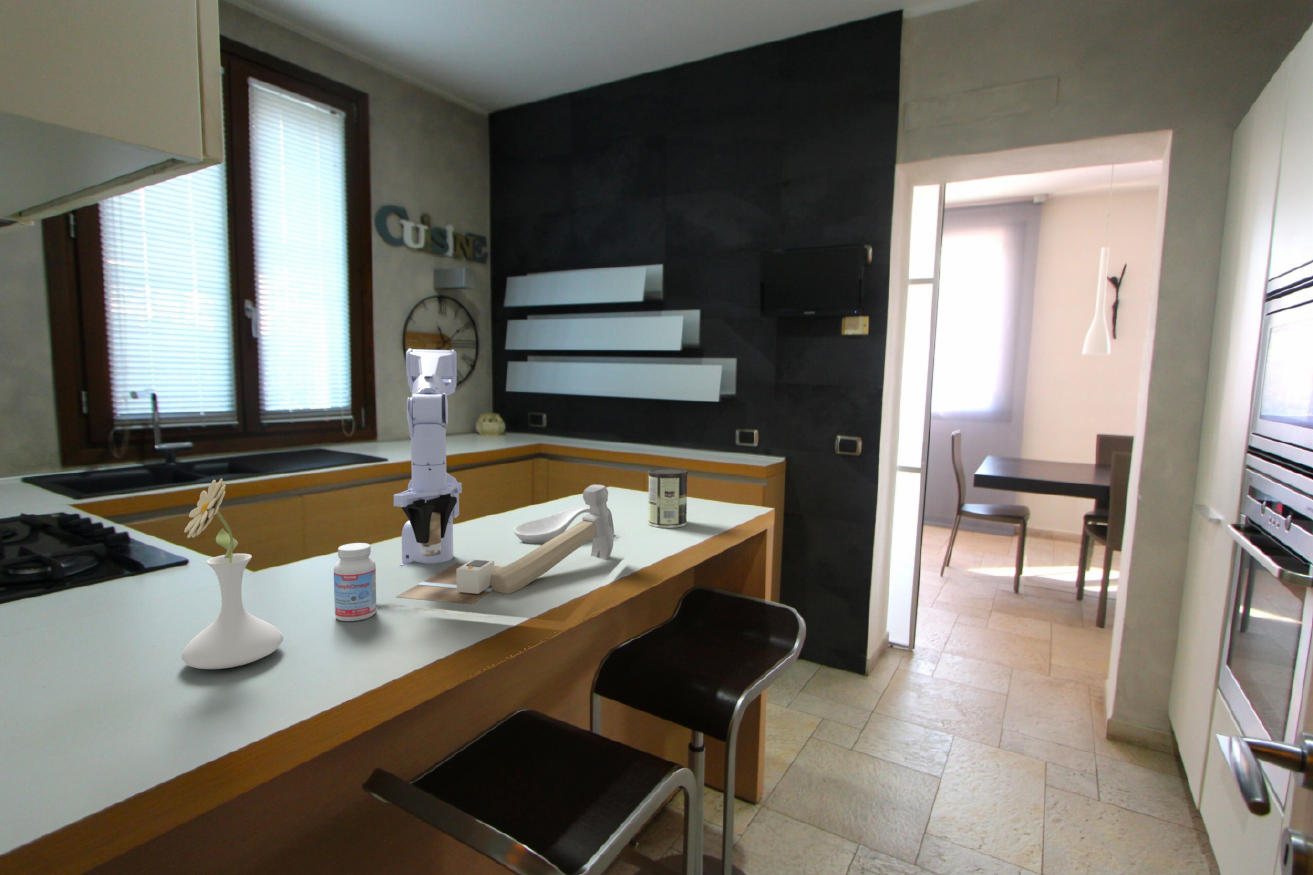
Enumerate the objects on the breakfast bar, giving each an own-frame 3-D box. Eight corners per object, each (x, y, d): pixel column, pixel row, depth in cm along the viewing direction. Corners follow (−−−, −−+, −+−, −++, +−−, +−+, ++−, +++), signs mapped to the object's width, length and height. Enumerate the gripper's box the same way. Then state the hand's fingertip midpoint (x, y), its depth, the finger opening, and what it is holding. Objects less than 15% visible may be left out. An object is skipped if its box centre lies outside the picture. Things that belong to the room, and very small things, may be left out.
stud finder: (456, 591, 109) (456, 566, 108) (473, 580, 115) (473, 556, 114) (478, 593, 108) (478, 568, 107) (494, 582, 114) (494, 558, 113)
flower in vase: (194, 648, 89) (184, 470, 86) (288, 635, 93) (281, 467, 91) (166, 691, 77) (153, 487, 74) (276, 674, 81) (267, 481, 79)
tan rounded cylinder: (431, 557, 110) (430, 517, 109) (416, 554, 111) (415, 515, 110) (445, 552, 113) (444, 513, 112) (430, 549, 114) (429, 511, 114)
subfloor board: (395, 603, 107) (395, 596, 107) (456, 568, 126) (456, 562, 126) (472, 611, 104) (472, 603, 104) (522, 574, 123) (522, 567, 123)
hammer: (499, 549, 106) (610, 485, 129) (480, 544, 109) (592, 482, 132) (516, 630, 111) (620, 554, 134) (497, 624, 113) (603, 551, 136)
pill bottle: (331, 624, 98) (328, 552, 97) (339, 610, 104) (337, 542, 103) (373, 620, 100) (371, 550, 98) (379, 606, 105) (377, 540, 104)
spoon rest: (527, 552, 139) (527, 520, 139) (505, 540, 149) (505, 510, 148) (617, 537, 154) (618, 508, 153) (592, 527, 163) (592, 500, 162)
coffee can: (673, 517, 174) (674, 466, 173) (694, 525, 165) (695, 472, 164) (640, 521, 169) (641, 469, 168) (660, 530, 160) (661, 474, 159)
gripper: (416, 470, 102) (418, 552, 104) (474, 459, 116) (475, 533, 117) (383, 467, 105) (385, 547, 106) (443, 457, 118) (445, 529, 120)
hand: (430, 539), depth 112 cm, fingers closed on tan rounded cylinder, 3 cm apart
